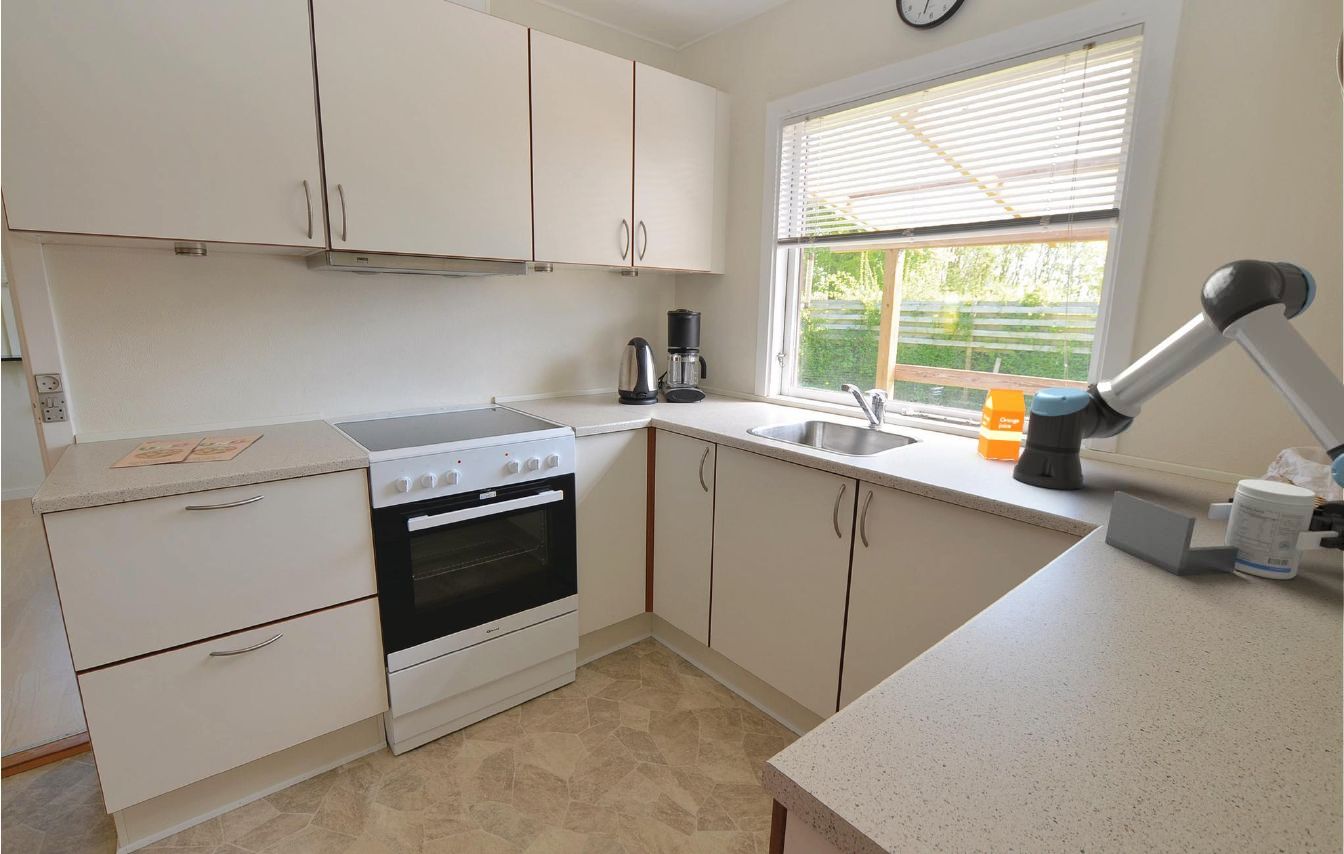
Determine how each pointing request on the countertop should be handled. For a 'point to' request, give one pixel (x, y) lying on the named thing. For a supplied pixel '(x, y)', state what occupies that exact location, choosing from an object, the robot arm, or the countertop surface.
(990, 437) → the orange juice
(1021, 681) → the countertop surface
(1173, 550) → the bracket
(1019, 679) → the countertop surface
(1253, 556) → the supplement tub
